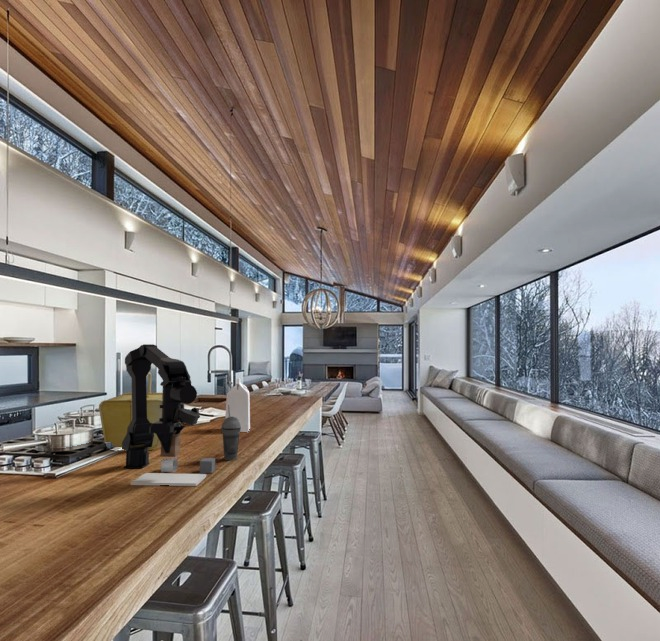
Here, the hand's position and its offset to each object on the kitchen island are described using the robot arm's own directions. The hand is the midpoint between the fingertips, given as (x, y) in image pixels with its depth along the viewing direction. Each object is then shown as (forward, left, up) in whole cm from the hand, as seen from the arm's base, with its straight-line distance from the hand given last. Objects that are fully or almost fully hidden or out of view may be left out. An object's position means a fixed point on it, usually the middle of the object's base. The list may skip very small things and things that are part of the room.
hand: (170, 451), depth 142 cm
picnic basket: (-32, +50, -9) cm, 61 cm away
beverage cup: (+12, +28, -9) cm, 32 cm away
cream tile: (0, 0, -9) cm, 9 cm away
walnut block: (0, 0, -1) cm, 1 cm away
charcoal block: (+9, +11, -9) cm, 17 cm away
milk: (+1, +85, -9) cm, 85 cm away
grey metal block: (-4, +11, -9) cm, 15 cm away
